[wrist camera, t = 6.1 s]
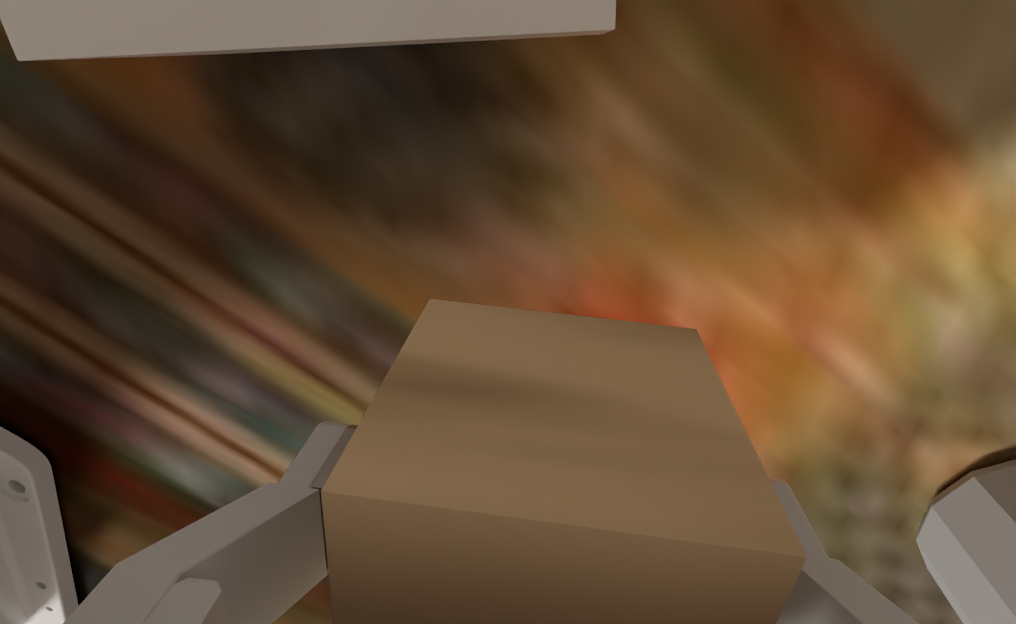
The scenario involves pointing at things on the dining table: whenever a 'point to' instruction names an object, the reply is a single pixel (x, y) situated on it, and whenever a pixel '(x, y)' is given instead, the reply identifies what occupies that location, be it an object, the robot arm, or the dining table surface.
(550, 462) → the oak cube
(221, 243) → the dining table surface
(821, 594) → the robot arm
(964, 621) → the water bottle
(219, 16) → the white square block
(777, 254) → the dining table surface
